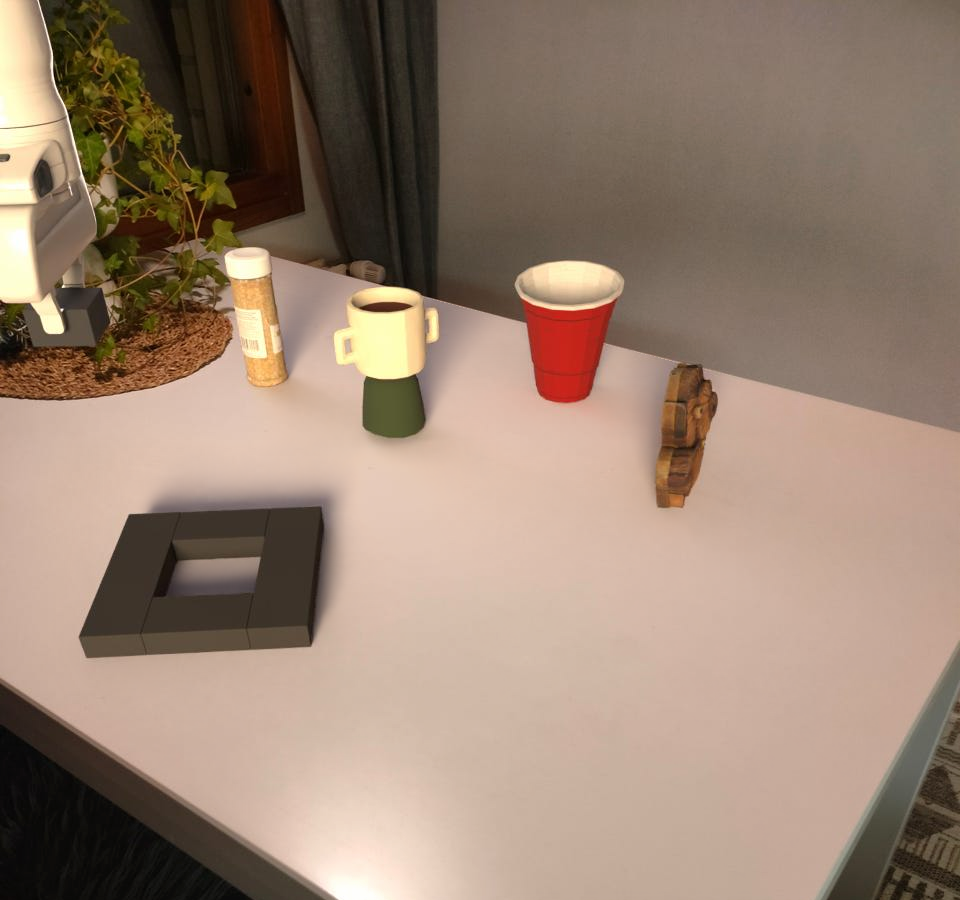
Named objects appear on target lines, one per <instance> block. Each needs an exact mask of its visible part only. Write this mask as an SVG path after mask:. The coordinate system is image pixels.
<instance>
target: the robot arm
mask: <svg viewBox="0 0 960 900" xmlns="http://www.w3.org/2000/svg"><path fill="white" fill-rule="evenodd" d="M46 25H47V24H46V22H45V18H44V15H43V11H42V7H41V5H40V1H39V0H0V301H1V302H3V303H5V304H28V303H31V305H32V306H33V307H34V309H35V310H36V312H37V313H38V314H39V315H40V318H41V322H42V325H43V328H44V330H45V332H46V333H48V334H61V333H63V332H64V331H65V329H66V328H67V325H68V322H67V319H66V315H65V312H64V309H60V307H59V305H58V302H57V300H56V298H55V296H56V290H55V288H56V285H57V283H58V282H59V281H60V280H61V279H62V284H63V285H62V286H61V288H87V287H86V284H85V259H84V255H83V252H84V251H85V249H86V248H87V247H88V246H89V244H90V243H91V242H92V241H93V240H94V238H95V237H96V235H97V233H98V231H97V219H96V215H95V210H94V208H93V204H92V203H93V202H92V199H91V197H90V194H89V191H88V187H87V184H86V180H85V176H84V175H83V171H82V166H81V162H80V158H79V154H78V150H77V146H76V142H75V138H74V134H73V130H72V126H71V123H70V117H69V113H68V110H67V107H66V105H65V103H64V101H63V99H62V97H61V95H60V93H59V91H58V89H57V88H58V87H57V85H56V81H55V77H54V56H53V49H52V44H51V40H50V36H49V33H48V28H47V26H46Z"/></svg>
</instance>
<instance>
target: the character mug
mask: <svg viewBox="0 0 960 900" xmlns="http://www.w3.org/2000/svg"><path fill="white" fill-rule="evenodd" d="M424 299H425V298H424V296H423V295H421V293H420V292H419V291H416V290H413V289H410V288H406V287H399V286H376V287H368V288H364V289H361V290H359V291H355V292H354V293H353V294H351V295H350V296H348V298H347V302H346V316H347V327H345V328H341V329H338V330H336V331H334V333H333V345H334V352H335V353H334V354H335V360H336V362H337V365H339V366H346V365H350V364H354V366H355V368H356V369H357V370H358V372H359V373H361V374H362V375H364V376H365V378H364V380H363V389H362V390H363V391H362V406H361V409H362V411H361V413H362V414H361V415H362V417H361V418H362V427H363V428H364V429H365V431H367V432H369V433H370V434H373V435H376V436H379V437H383V438H388V439H404V438H408V437H411V436H415V435H417V434H418V433H419V432H420V431H421V430H422V429H424V428H425V425H426V419H427V418H426V412H425V406H424V400H423V395H422V391H421V385H420V380H419V378H418V376H417V374H418V373H420V372H421V371H422V370H423V369H424V368H425V366H426V360H427V345H428V344H431V343H434V342H436V341H438V340H439V337H440V327H439V325H440V324H439V313H438V310H437V307H428V308H425V300H424ZM426 320H428V332H426ZM348 339H349V348H350V352H347V353H346V344H345V340H348Z"/></svg>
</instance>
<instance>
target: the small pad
mask: <svg viewBox="0 0 960 900" xmlns="http://www.w3.org/2000/svg"><path fill="white" fill-rule="evenodd" d="M55 290H56V296H55V298H56V300H57V302H58V305H59V307H60V309H64V312H65V315H66V319H67V322H68V325H67V328H66V329H65V331H64V332H63V333H61V334H48V333H46V332H45V330H44V328H43V325H42V322H41V318H40V315H39V314H38V313H37V312H36V310H35V309H34V307H33V306H32V305H31V303H26V305H25V306H24V307H23V309H22V310H21V311H22V315H23V317H24V321H25V324H26V326H27V330H28V333H29V337H30V339H31V344H32V346H33V347H34V348H49V347H50V348H51V347H53V348H55V347H58V348H59V347H96V346H97V345H98V344H99V343H100V341H101V339H102V338H103V336H104V334H105V333H106V331H107V329H108V328H109V327H110V325H111V317H110V314H109V311H108V310H109V309H108V306H107V303H106V297H105V294H104V290H103V287H86V288H62V287H55Z"/></svg>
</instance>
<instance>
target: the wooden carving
mask: <svg viewBox="0 0 960 900" xmlns="http://www.w3.org/2000/svg"><path fill="white" fill-rule="evenodd" d="M704 376H705V375H704V368H703V365H702V364H701V363H697V364H687V363H686V362H678V363H677V365H676V367H674V368H673V369H672V370H671V371H670V373H669V377H668V380H667V383H666V384H667V385H666V391H665V395H664V401H663V403H662V409H661V419H660V423H661V424H660V433H661V446H660V449H659V452H658V456H657V459H656V466H655V473H654V485H655V486H654V488H655V489H654V490H655V499H656V500H655V502H656V507H657V509H670V508H680V509H683V508H684V506H685V501H686V497H689V496H690V494H691V491H692V489H693V487H694V486H695V484H696V482H697V480H698V478H699V475H700V471H701V467H702V463H703V462H702V461H703V458H704V451H705V446H706V440H707V435H708V434H709V432H710V430H711V425H712V422H713V419H714V417H715V416H716V414H717V409H718V404H719V398H718V394H717V391H713V382H712V380H711V379H709V378H708V379H706V378H705V377H704Z"/></svg>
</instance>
